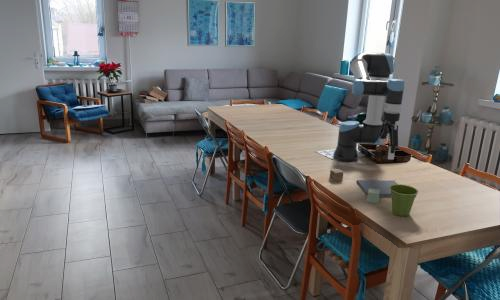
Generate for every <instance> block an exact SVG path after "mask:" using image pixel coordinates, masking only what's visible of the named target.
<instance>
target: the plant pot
mask: <svg viewBox="0 0 500 300" xmlns="http://www.w3.org/2000/svg"><path fill="white" fill-rule="evenodd" d="M390 190H391V196H392V197H391V211H392V213H393V214H394V215H397V216H399V217H407V216H409V215H410V213H411V211H412V207H413V204H414V202H415V199H416V197H417V195H418V194H419V191H420V190H418V189H417V188H415V187H413V186H410V185H407V184H400V183H399V184H398V183H397V184H396V185H392V186H390Z"/></svg>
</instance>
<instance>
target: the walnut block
mask: <svg viewBox="0 0 500 300" xmlns="http://www.w3.org/2000/svg"><path fill="white" fill-rule="evenodd" d="M343 178H344V171H343V170H341V169H340V168H337V169H336V168H334V169H333V168H332V169H331V168H330V171H329V179H330V180H331V181H333V182H342V181H344V180H343Z"/></svg>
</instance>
